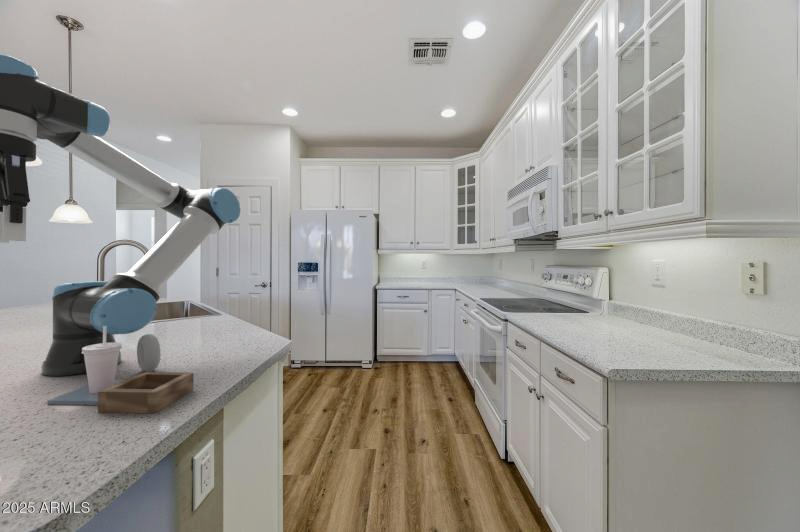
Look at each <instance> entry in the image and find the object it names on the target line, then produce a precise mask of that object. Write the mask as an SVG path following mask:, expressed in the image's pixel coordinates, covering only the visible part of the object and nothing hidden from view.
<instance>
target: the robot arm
mask: <svg viewBox="0 0 800 532" xmlns="http://www.w3.org/2000/svg"><path fill="white" fill-rule="evenodd" d="M39 79H40V78H39V76H38V72H37V70H36V69H35V68H34V67H33V66H32V65H30V64H27V63H26V62H25V61H23V60H20V59H19V58H16V57H13V56H10V55H6V54H3V53H0V243H2V244H3V243H4V244H5V243H6V244H8V243H10V241H13V242H14V241H15V242H26V241H27V240H26V239H27V237H26V236H27V206H28V204H29V203H30V202H31V198H30V191H29V185H28V184H29V183H28V177H27V168H26V166H27V165H26V163H28V162H29V163H30V162H35V161H36V160H37V144H35V143H34V142H36V141H38V139H39V140H47V141H49V142H51V143H52V144H54V145H56V146H58V147H60V148H61V149H63V150H65V151H67V152H69V154H72V155H74V156H75V157H77V158H79V159H80V160H83V161H84V162H86V163H88V164H89V165H91V166H92V167H95V168H96V169H98V170H100V171H101V172H103V173H105V174H106V175H108V176H110V177H112V178H114V179H116V181H119V182H121V183H122V184H125V185H126V186H128V187H130V188H131V189H133V190H134V191H137V192H139V193H140V194H142V195H144V196H145V197H146V198H147V197H148V198H149V199H151V200H153V201H154V202H155V205H156V206H157V207H158V208H160V209H162V210H163V211H165V212H168V213H169V214H171V215H173V216H174V217H176V218H179V219H180V220H179V221H177V223H176V224H175V225H174V226H173V227H171V228H170V229H169V231H167V233H165V235H164V236H162V237H161V238H160V240H158V241H157V242H156V243H155V244H154V245H153V246H152V247H151V248H150V249H148V251H147V252H146V253H145V255H143V256H141V258H140V259H139V260H138V261H137V262H136V263H135V264H134V265H133V266H132V267H131V268H130V269H129V270H128V271H127V272H119V273H116V274H114V275H113V276H112V277H111V278H110V279H109V280H107V281H106V280H105V281H102V280H101V281H100V280H99V281H96V280H94V281H80V282H79V281H78V282H67V283H62V284H58V285H56V286H55V287H54V289H53V295H52V296H51V299H52V342H51V345H50V347H49V349H48V351H47V354H46V358H45V360H44V361H43V362H42V363H41V374H42V375H44V376H51V377H58V376H59V377H61V376H71V375H80V374H85V373H86V374H87V371H86V365H85V359H84V354H82V348H83V347H86V346H89V345H94V344H100V343H103V326H107V332H106V343H110V342H116V339H115V336H114V335H126V334H127V335H128V334H131V333H132V334H133V333H135V332H138V331H140V330H142V329H143V328H145V327H146V326H147V325H149V324H150V323H151V321H153V319H154V317H155V316H156V312H157V308H156V307H157V302H158V301H159V300H160V299H161V294H160V290H161V288H162V287H163V286H164V285H165V284H166V283H167V282H168V280H170V278H171V277H172V276H173V275H174V274H175V273H176V272H177V271H178V269H179V268H180V267H181V266H182V265H183V264H184V263H185V262H186V260H187V259H188V258H189V257H190V256H191V255H192V254H193V253H194V252H195V250H196V249H198V247H199V246H200V245H201V244H202V242H203V241H204V240H205V239H206V238H207V237H208V236H209V235H213V234H217V233H218V232H219V231H220V230H221V229H222V228H223V227H224V225H226V224H232V223H234V222H235V221H238V219H239V218H240V215H241V207H240V205H241V204H240V201H239V200H238V199H239V198H237V196H236V195H235V194H234V192H233V191H231V190H230V189H228V188H224V187H213V188H208V189H207V188H206V189H196V190H194V189H188V188H184V187H182V186H181V185H179V184H178V183H175V182H171V183H170V182H169V181H167V180H166V179H164V178H163V177H161V176H160V175H158V174H157V173H155V172H153V171H152V170H150V169H149V168H147V167H146V166H144V165H143V164H141V163H139V162H138V161H137V160H135V159H134V158H131V157H130V156H129V155H127V154H125V153H124V152H122V151H121V150H119V149H118V148H116V147H115V146H113V145H112V144H110V143H108V142H107V141H105V140H103V139H102V138H101V137H103V136H106V134H107V133H108V131H109V130H110V126H111V116H110V112H109V111H108V110H107V109H106V108H105V107H103V106H102V105H99V104H97V103H95V102H92V101H90V100H89V99H85V98H82V97H79V96H77V95H74V94H72V93H69V92H67V91H64V90H62V89H59V88H56V87H54V86H51V85H49V84H47V83H45V82H42V81H41V80H39ZM121 361H122V353H121V350H120V351H119V357H118V363H117V365H118V364H120V363H121Z"/></svg>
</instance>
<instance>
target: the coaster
mask: <svg viewBox="0 0 800 532" xmlns="http://www.w3.org/2000/svg"><path fill="white" fill-rule="evenodd" d="M122 381H123V380H116V379H115V380H114V385H115V384H117V383H120V382H122ZM46 401H47V405H55V406H56V405H57V406H58V405H60V406H62V405H63V406H65V405H67V406H68V405H69V406H98V393H90V391H89V384H87V385H84V386H82V387H79V388H77V389H74V390H71V391H69V392H65V393H63V394H61V395H58V396H55V397H53V398H50V399H48V400H46ZM85 404H86V405H85Z"/></svg>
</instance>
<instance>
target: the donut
mask: <svg viewBox="0 0 800 532" xmlns="http://www.w3.org/2000/svg"><path fill="white" fill-rule="evenodd" d="M161 354H162V353H161V345H160V341H159V340H158V338H157V336H156V335H155V334H152V333H146V334H143V335H142V336H141V337H139V339H138V341H137V345H136V356H137V357H136V358H137V363H138V367H139V368H140V370H141V371H143V373H144V372H155V370H156V369H157V368H158V367H159V365H160V363H161V356H162V355H161Z"/></svg>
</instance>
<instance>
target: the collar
mask: <svg viewBox="0 0 800 532" xmlns="http://www.w3.org/2000/svg"><path fill="white" fill-rule="evenodd" d="M121 381H122V382H120V383H117V384H115V385H113V386H110V387H108V388H106V389H103V390H101V391H98V405H97V413H103V412H105V413H107V414H108V413H110V414H111V413H114V414H115V413H118V414H121V413H122V414H156V413H158V412H160V411H161V410H163V409H165V408H166V407H169V406H170V405H171V404H174V403H175V402H177V400H179V399H181V398H182V397H184V396H186V395H188V394H190V393H191V392H193V391H194V372H177V371H176V372H175V371H173V372H171V371H168V372H167V371H152V372H144V371H143V372H141V373H139V374H136V375H135V376H131V377H130V378H127V379H124V380H121Z"/></svg>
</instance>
